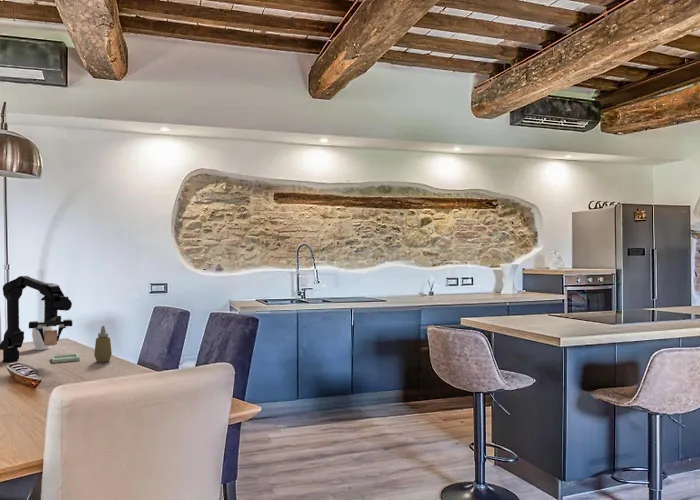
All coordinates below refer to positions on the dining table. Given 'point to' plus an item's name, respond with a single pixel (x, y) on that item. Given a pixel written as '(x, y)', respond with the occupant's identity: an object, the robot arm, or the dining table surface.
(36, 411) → the dining table surface
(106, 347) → the squeeze bottle
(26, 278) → the robot arm
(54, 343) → the pink rounded cylinder
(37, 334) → the jar
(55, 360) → the tray
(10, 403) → the dining table surface
